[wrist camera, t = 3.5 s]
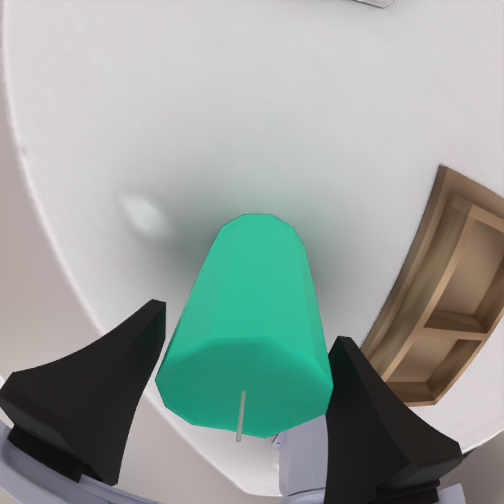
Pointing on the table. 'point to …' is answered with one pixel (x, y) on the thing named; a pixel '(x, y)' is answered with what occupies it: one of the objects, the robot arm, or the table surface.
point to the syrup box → (378, 2)
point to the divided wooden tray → (442, 293)
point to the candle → (249, 336)
